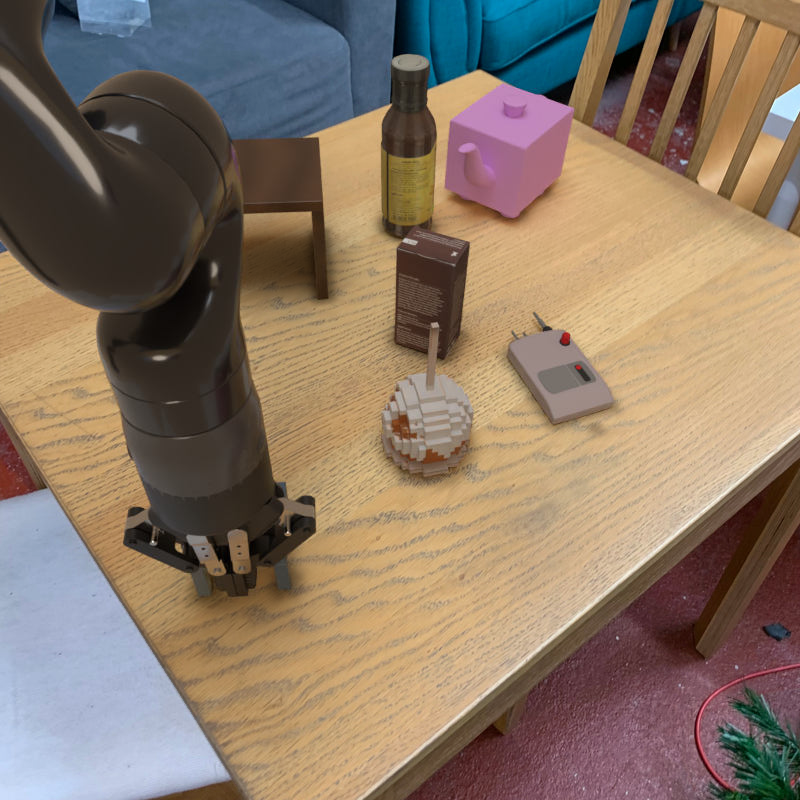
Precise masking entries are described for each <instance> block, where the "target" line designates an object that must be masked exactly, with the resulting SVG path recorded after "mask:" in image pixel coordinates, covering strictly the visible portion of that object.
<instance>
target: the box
mask: <svg viewBox="0 0 800 800" xmlns="http://www.w3.org/2000/svg"><path fill="white" fill-rule="evenodd" d="M470 247H471V242H470V241H468V240H464V239H461V238H457V237H453V236H450V235H446V234H443V233H439V232H436V231H432V230H430V229H429V230H426V229H422V228H419V227H416V226H414V227H413V228H412V230H411V231H410V232H409V233H408V235H407V236H406V237H405V238H403V240H401V242H400V243H399V245H397V246H396V251H395V253H396V255H395V256H396V257H395V259H396V260H395V262H396V263H395V265H396V266H395V305H394V307H395V308H394V333H393V334H394V337H393V340H394V343H395V344H399V345H402V346H405V347H409V348H411V349H414V350H417V351H420V352H423V353H426V354H428V350H429V337H430V324H431V323H436V322H438V325H439V336H438V347H437V357H438V358H441V359H444V360H445V359H447V357H448V356H449V354H450V353H451V351H452V350H453V348H454V346H455V344H456V343H457V341H458V339H459V337H460V336H461V328H462V320H463V309H464V300H465V293H466V284H467V275H468V274H467V273H468V264H469V258H470V257H469V255H470Z"/></svg>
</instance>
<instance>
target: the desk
mask: <svg viewBox="0 0 800 800" xmlns="http://www.w3.org/2000/svg"><path fill="white" fill-rule="evenodd" d="M232 142H233V144H234V147H235V150H236V153H237V157H238V161H239V165H240V171H241V177H242V186H243V202H244V215H254V214H283V213H307V212H308V213H309V212H311V225H312V239H313V254H314V255H313V257H314V269H315V285H316V298H317V300H328V299H329V284H328V283H329V282H328V265H327V247H326V245H327V244H326V230H325V229H326V228H325V227H326V226H325V210H324V192H323V179H322V177H323V176H322V162H321V147H320V137H319V136H314V137H313V136H312V137H311V136H310V137H280V138H279V137H277V138H275V137H273V138H271V137H270V138H241V139H239V138H238V139H237V138H235V139H232Z"/></svg>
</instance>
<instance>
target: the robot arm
mask: <svg viewBox="0 0 800 800" xmlns="http://www.w3.org/2000/svg"><path fill="white" fill-rule="evenodd" d="M55 7H56V0H0V243H1V244H2V245H3V246H4V248H5V249H6V250H7V251H8V253H9V254H10V255H11V256H12V257H13V258H14V260H16V261H17V262H18V263H19V264H20V266H22V267H23V268H24V269H25V270H26V271H27V272H28V273H29V274H30V275H31V276H33V278H35V279H36V280H37V281H39V282H40V283H41V284H43V285H44V286H46V287H47V288H48V289H49V290H51V291H53V292H54V293H55V294H57V295H59V296H60V297H63V298H64V299H66V300H68V301H70V302H73V303H74V304H76V305H79V306H82V307H84V308H87V309H90V310H93V311H97V312H99V313H98V316H97V319H96V325H95V327H96V328H95V336H96V337H95V339H96V347H97V352H98V355H99V359H100V362H101V366H102V368H103V370H104V373H105V376H106V378H107V379H106V380H107V381H108V384H109V387H110V390H111V392H112V395H113V397H114V400H115V402H116V405H117V407H118V408H117V409H118V411H119V416H120V421H121V429H122V433H123V436H124V439H125V445H126V450H127V454H128V456H129V459H130V460H131V461H132V462H133V464H134V466H135V469H136V471H137V474H138V477H139V479H140V481H141V484H142V487H143V490H144V492H145V495H146V497H147V500H148V502H149V504H150V506H149V507H147V508H144V507H142V506H132V507H129V509H128V510H127V515H126V519H125V524H124V525H125V526H124V531H123V532H124V533H123V539H122V544H123V546H124V547H127V548H128V549H131V550H133V551H135V552H138V553H140V554H141V555H143V556H146V557H148V558H150V559H153V560H155V561H158V562H160V563H161V564H164V565H167V566H169V567H172V568H174V569H176V570H178V571H180V572H182V573H184V574H190V573H195V572H197V571H198V570H199V568H206V569H207V571H208V574H209V575H211V576H212V577H213V580H214V583H215V586H216V589H217V590H219V592H226V595H227V598H239V597H249V593H250V590H255V589H256V587H257V585H258V583H257V582H258V581H257V580H258V566H256V565H257V564H259V565H260V566H259V567H261V568H272V567H273V568H274V566H275V565H276V564H277V563H278V562H280V561H281V560H282V559H283V558H285V557H286V556H287V557H288V555H290V554H292V552H294V551H295V550H296V549H297V548H298V547H300V546H301V545H302V544H304V543H305V542H306V541H307V540H308V539H310V538H311V537H312V536H313V535H315V534H316V533H317V513H316V512H317V510H316V509H317V508H316V498H315V497H314V496H312V495H309V494H307V495H305V494H304V495H301V496H299V497H298V498H297V499H296V500H294V499H291V498H289V497H288V498H285V497H284V491H283V489H282V487H281V486H280V485H279V484H277V483H276V481H275V478H274V474H273V468H272V462H271V455H270V449H269V444H268V437H267V431H266V426H265V419H264V414H263V407H262V403H261V402H262V401H261V399H260V396H259V393H258V389H257V387H256V385H255V382H254V379H253V375H252V369H251V363H250V358H249V352H248V345H247V339H246V335H245V331H244V327H243V323H242V317H241V293H242V291H241V290H242V280H243V262H244V260H243V259H244V258H243V257H244V224H245V223H244V220H245V219H244V217H245V214H244V202H243V186H242V177H241V171H240V165H239V161H238V157H237V153H236V150H235V147H234V144H233V142H232V140H233V139H232V138H231V135H230V133H229V130H228V127H226V125H225V122H224V120H223V119H222V117H221V116H220V115H219V113H218V112H217V110H216V109H215V108H214V107H213V105H212V104H211V103H210V101H208V99H206V97H204V96H203V94H201V93H200V92H199V91H198V90H196V89H195V88H194V87H192V86H191V85H189V84H188V83H186V82H185V81H183V80H181V79H180V78H178V77H176V76H173V75H171V74H168V73H166V72H162V71H158V70H147V69H135V70H130V71H124V72H121V73H119V74H115V75H113V76H112V77H109V78H108V79H106V80H105V81H103V82H101V83H100V84H99V85H97V86H96V87H95V88H93V90H92V91H90V92H89V94H88V95H86V97H85V98H84V99H82V100H81V102H80V103H79V104H78V105H76V103H75V101H74V99H72V97H71V95H70V93H68V91H67V89H66V88H65V86H64V84H63V83H62V82H61V80H60V78H59V77H58V75H57V73H56V71H55V70H54V68H53V66H52V65H51V63H50V61H49V59H48V58H47V55H46V53H45V38H46V35H47V34H48V31H49V28H50V26H51V24H52V21H53V17H54V15H55V14H54V13H55ZM176 544H178V545H180V546H181V545H183V551H182V552H180V551H179V550H177V549H176ZM228 545H229V547H228Z"/></svg>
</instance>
